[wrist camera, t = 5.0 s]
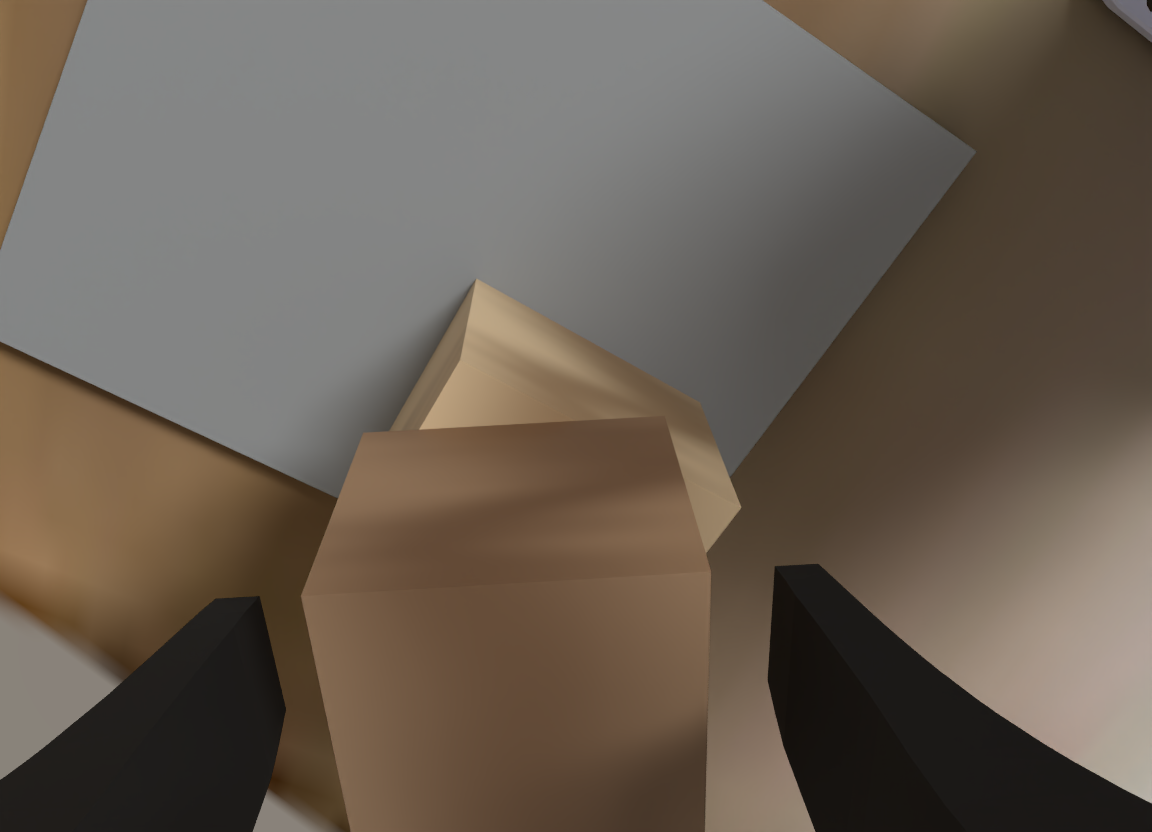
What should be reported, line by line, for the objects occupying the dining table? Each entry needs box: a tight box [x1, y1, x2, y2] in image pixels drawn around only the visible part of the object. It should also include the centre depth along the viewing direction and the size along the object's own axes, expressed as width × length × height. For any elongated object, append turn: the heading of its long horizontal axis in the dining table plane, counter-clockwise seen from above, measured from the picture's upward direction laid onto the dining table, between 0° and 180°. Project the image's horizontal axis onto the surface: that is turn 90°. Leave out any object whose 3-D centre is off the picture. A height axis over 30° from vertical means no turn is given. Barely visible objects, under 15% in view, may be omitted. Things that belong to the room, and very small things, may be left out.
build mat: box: [0, 0, 977, 498], centre depth 17 cm, size 14×12×1 cm
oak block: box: [389, 278, 741, 553], centre depth 16 cm, size 5×5×4 cm
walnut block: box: [301, 416, 711, 832], centre depth 13 cm, size 4×4×4 cm
